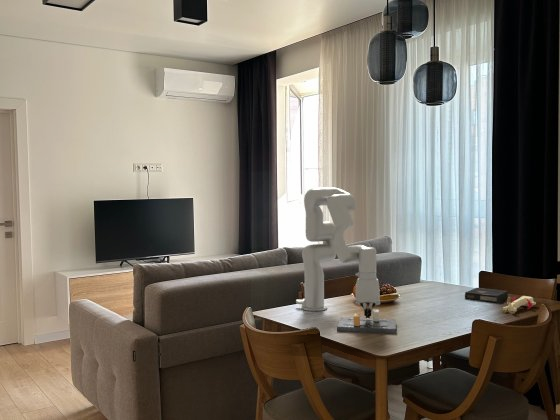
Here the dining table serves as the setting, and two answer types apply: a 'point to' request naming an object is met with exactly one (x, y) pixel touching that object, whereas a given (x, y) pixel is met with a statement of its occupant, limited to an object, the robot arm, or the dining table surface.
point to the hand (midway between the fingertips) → (367, 317)
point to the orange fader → (356, 319)
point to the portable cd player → (486, 295)
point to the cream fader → (375, 315)
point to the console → (367, 325)
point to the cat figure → (518, 304)
